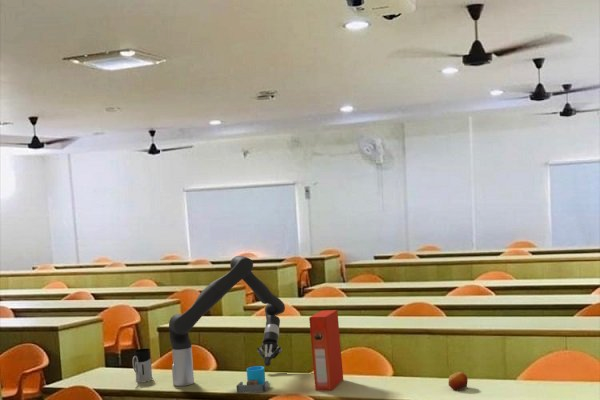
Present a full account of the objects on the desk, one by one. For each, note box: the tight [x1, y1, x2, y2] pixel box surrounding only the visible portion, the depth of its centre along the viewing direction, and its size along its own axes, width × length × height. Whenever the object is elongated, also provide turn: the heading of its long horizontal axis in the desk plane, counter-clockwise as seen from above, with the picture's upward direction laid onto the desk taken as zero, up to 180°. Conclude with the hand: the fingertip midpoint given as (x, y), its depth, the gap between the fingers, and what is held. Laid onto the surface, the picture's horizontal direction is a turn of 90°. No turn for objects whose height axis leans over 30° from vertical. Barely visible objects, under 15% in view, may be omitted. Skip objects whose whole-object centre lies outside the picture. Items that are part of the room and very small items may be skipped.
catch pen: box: [235, 380, 270, 393], centre depth 292 cm, size 13×6×3 cm, turn 79°
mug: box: [246, 365, 266, 385], centre depth 300 cm, size 12×8×8 cm
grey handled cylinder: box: [131, 348, 154, 383], centre depth 323 cm, size 9×14×15 cm, turn 166°
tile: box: [246, 380, 258, 385], centre depth 292 cm, size 4×4×4 cm
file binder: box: [308, 309, 344, 391], centre depth 291 cm, size 8×17×32 cm, turn 160°
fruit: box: [448, 371, 469, 391], centre depth 270 cm, size 8×8×8 cm
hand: (267, 365), depth 318 cm, fingers closed
